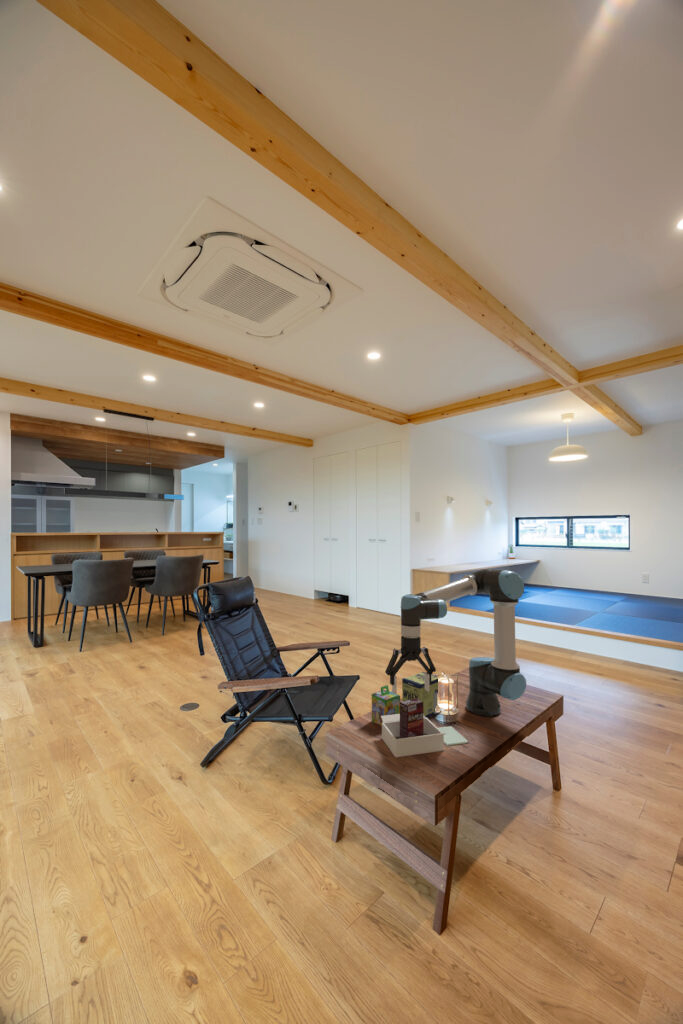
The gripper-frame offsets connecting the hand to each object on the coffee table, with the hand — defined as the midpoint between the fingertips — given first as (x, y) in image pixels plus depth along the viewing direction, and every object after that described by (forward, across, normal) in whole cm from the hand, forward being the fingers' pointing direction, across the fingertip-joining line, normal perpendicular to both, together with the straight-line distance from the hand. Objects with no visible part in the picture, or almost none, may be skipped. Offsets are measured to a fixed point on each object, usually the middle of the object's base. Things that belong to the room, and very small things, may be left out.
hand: (410, 691), depth 155 cm
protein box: (+20, -17, -25) cm, 36 cm away
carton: (+20, 0, 0) cm, 20 cm away
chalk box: (+20, +2, -20) cm, 28 cm away
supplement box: (+20, 0, 0) cm, 20 cm away
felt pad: (+19, -18, -2) cm, 26 cm away
